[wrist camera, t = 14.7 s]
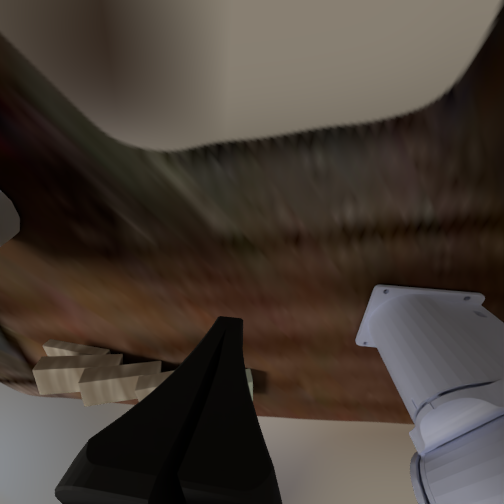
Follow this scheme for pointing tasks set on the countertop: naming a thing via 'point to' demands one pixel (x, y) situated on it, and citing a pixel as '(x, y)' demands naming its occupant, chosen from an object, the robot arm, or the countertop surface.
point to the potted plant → (8, 219)
